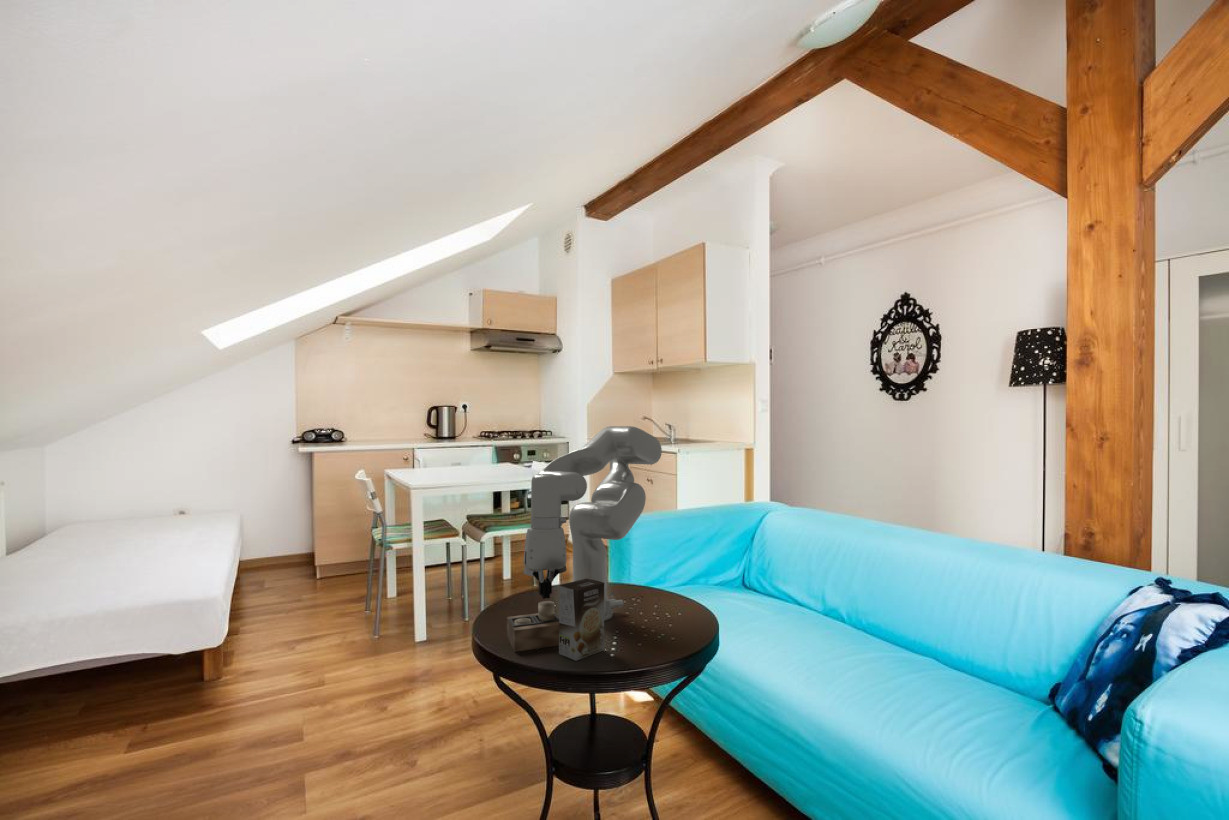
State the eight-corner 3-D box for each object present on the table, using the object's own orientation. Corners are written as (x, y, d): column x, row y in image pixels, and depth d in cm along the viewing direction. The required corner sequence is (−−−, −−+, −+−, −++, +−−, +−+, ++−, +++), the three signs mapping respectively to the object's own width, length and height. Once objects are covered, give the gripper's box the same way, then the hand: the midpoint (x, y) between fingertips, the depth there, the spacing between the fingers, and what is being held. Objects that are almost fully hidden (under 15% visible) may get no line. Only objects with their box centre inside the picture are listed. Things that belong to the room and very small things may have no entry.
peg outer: (529, 635, 142) (529, 617, 142) (532, 641, 138) (532, 622, 139) (513, 637, 141) (513, 619, 141) (516, 643, 137) (516, 624, 137)
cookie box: (576, 662, 128) (576, 590, 128) (558, 654, 132) (558, 585, 133) (605, 650, 135) (604, 582, 135) (586, 643, 139) (586, 577, 139)
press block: (553, 630, 147) (553, 610, 148) (563, 644, 138) (563, 622, 138) (506, 637, 143) (506, 615, 143) (514, 651, 134) (514, 629, 134)
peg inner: (552, 618, 144) (552, 600, 145) (556, 623, 141) (556, 604, 141) (536, 620, 143) (536, 602, 143) (540, 625, 139) (540, 606, 139)
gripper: (570, 519, 149) (569, 590, 148) (513, 522, 143) (512, 596, 142) (578, 524, 142) (578, 598, 141) (519, 527, 136) (518, 604, 135)
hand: (545, 597), depth 142 cm, fingers closed
